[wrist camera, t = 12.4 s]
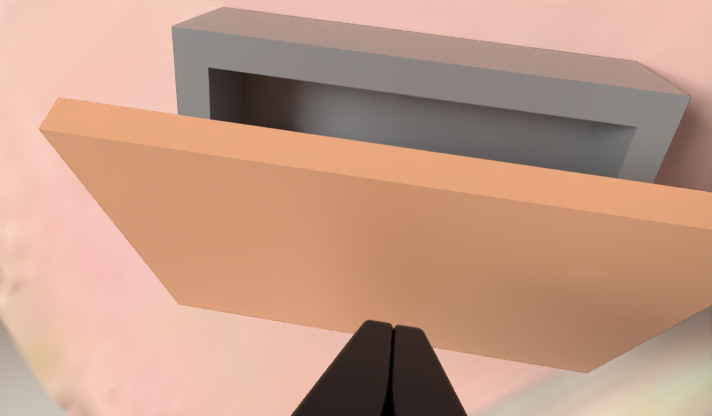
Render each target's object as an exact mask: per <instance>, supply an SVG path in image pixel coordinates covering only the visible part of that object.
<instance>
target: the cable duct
mask: <svg viewBox="0 0 712 416" xmlns="http://www.w3.org/2000/svg"><path fill="white" fill-rule="evenodd" d="M172 38H173V52H174V65H175V79H176V93H177V107H178V115H183V116H190V117H197V118H204V119H210V120H217V121H224V122H231V123H238V124H245V125H252V126H259V127H266V128H272V129H279V130H286V131H293V132H300V133H307V134H314V135H321V136H327V137H334V138H341V139H348V140H355V141H362V142H369V143H376V144H383V145H389V146H396V147H403V148H410V149H417V150H424V151H431V152H438V153H445V154H451V155H458V156H465V157H472V158H479V159H486V160H493V161H500V162H506V163H513V164H520V165H527V166H534V167H541V168H548V169H555V170H562V171H568V172H575V173H582V174H589V175H596V176H603V177H610V178H617V179H624V180H630V181H637V182H644V183H651V184H653V182H654V180H655V178H656V176H657V173H658V171H659V169H660V166H661V164H662V162H663V160H664V157H665V155H666V153H667V150H668V148H669V146H670V144H671V141H672V139H673V137H674V135H675V132H676V130H677V128H678V125H679V123H680V121H681V119H682V116H683V114H684V112H685V109H686V107H687V105H688V103H689V100H690V98H691V96H690V95H689V94H687V93H686V92H684V91H683V90H681V89H679V88H678V87H676V86H675V85H673V84H672V83H670V82H668V81H667V80H665V79H664V78H662V77H661V76H659V75H657V74H656V73H654V72H653V71H651V70H650V69H648V68H646V67H645V66H643V65H642V64H640V63H639V62H637V61H631V60H623V59H615V58H608V57H600V56H593V55H585V54H577V53H570V52H562V51H554V50H547V49H539V48H532V47H524V46H516V45H509V44H501V43H493V42H486V41H478V40H471V39H463V38H455V37H448V36H440V35H432V34H425V33H417V32H410V31H402V30H394V29H387V28H379V27H371V26H364V25H356V24H349V23H341V22H333V21H326V20H318V19H310V18H303V17H295V16H288V15H280V14H272V13H265V12H257V11H249V10H242V9H234V8H227V7H222V8H219V9H216V10H214V11H211V12H208V13H206V14H203V15H200V16H198V17H195V18H192V19H190V20H187V21H184V22H182V23H179V24H176V25H174V26H172Z"/></svg>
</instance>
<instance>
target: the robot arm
mask: <svg viewBox="0 0 712 416" xmlns="http://www.w3.org/2000/svg"><path fill="white" fill-rule="evenodd" d="M291 416H467V414H466V412H465V410H464V408H463V406H462V404H461V402H460V400H459V398H458V396H457V395H456V393H455V391H454V389H453V387H452V385H451V383H450V381H449V379H448V377H447V375H446V373H445V371H444V369H443V367H442V365H441V364H440V362H439V360H438V358H437V356H436V354H435V352H434V350H433V348H432V346H431V344H430V342H429V340H428V338H427V336H426V334H425V333H424V331H423V330H422V329H421V328H418V327H412V326H406V325H400V324H399V325H396V326H395V327H394V329H393V326H392V324H391V323H388V322H382V321H376V320H366V321H365V322H363V324H362V325H361V326H360V327H359V329H358V330H357V331H356V332H355V334H354V335H353V336H352V338H351V339H350V340H349V341H348V343H347V344H346V345H345V347H344V348H343V349H342V350H341V352H340V353H339V354H338V356H337V357H336V358H335V359H334V361H333V362H332V363H331V364H330V366H329V367H328V368H327V370H326V371H325V372H324V373H323V375H322V376H321V377H320V379H319V380H318V381H317V382H316V384H315V385H314V386H313V388H312V389H311V390H310V391H309V393H308V394H307V395H306V397H305V398H304V399H303V400H302V402H301V403H300V404H299V405H298V407H297V408H296V409H295V411H294V412H293V413H292V414H291Z"/></svg>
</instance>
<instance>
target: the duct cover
mask: <svg viewBox="0 0 712 416" xmlns="http://www.w3.org/2000/svg"><path fill="white" fill-rule="evenodd" d="M39 130H40V131H41V133H42V134H43V135H44V136H45V138H46V139H47V140H48V141H49V143H50V144H51V145H52V146H53V148H54V149H55V150H56V151H57V153H58V154H59V155H60V156H61V158H62V159H63V160H64V161H65V163H66V164H67V165H68V166H69V168H70V169H71V170H72V171H73V173H74V174H75V175H76V176H77V178H78V179H79V180H80V181H81V183H82V184H83V185H84V186H85V188H86V189H87V190H88V191H89V193H90V194H91V195H92V196H93V198H94V199H95V200H96V201H97V203H98V204H99V205H100V206H101V208H102V209H103V210H104V211H105V213H106V214H107V215H108V216H109V218H110V219H111V220H112V221H113V223H114V224H115V225H116V226H117V228H118V229H119V230H120V231H121V233H122V234H123V235H124V236H125V238H126V239H127V240H128V241H129V243H130V244H131V245H132V246H133V248H134V249H135V250H136V251H137V253H138V254H139V255H140V256H141V258H142V259H143V260H144V261H145V263H146V264H147V265H148V266H149V268H150V269H151V270H152V271H153V273H154V274H155V275H156V276H157V278H158V279H159V280H160V281H161V283H162V284H163V285H164V286H165V288H166V289H167V290H168V291H169V293H170V294H171V295H172V296H173V298H174V299H175V300H176V301H177V303H178V304H179V305H185V306H191V307H197V308H203V309H208V310H214V311H220V312H226V313H232V314H238V315H244V316H250V317H256V318H262V319H268V320H274V321H280V322H285V323H291V324H297V325H303V326H309V327H315V328H321V329H327V330H333V331H339V332H345V333H351V334H355V332H356V331H357V330H358V329H359V327H360V326H361V325H362V324H363V322H365V321H366V320H376V321H382V322H388V323H391V324H392V326H393V329H394V327H395V326H396V325H399V324H400V325H406V326H412V327H418V328H421V329H422V330H423V331H424V333H425V334H426V336H427V338H428V340H429V342H430V344H431V346H432V347H434V348H439V349H445V350H451V351H457V352H463V353H469V354H475V355H481V356H487V357H493V358H499V359H505V360H511V361H516V362H522V363H528V364H534V365H540V366H546V367H552V368H558V369H564V370H570V371H576V372H582V373H589V372H590V371H592V370H594V369H596V368H598V367H600V366H601V365H603V364H605V363H607V362H609V361H611V360H612V359H614V358H616V357H618V356H620V355H621V354H623V353H625V352H627V351H629V350H631V349H632V348H634V347H636V346H638V345H640V344H642V343H643V342H645V341H647V340H649V339H651V338H653V337H654V336H656V335H658V334H660V333H662V332H664V331H665V330H667V329H669V328H671V327H673V326H675V325H676V324H678V323H680V322H682V321H684V320H686V319H687V318H689V317H691V316H693V315H695V314H697V313H698V312H700V311H702V310H704V309H706V308H708V307H709V306H711V305H712V192H706V191H699V190H692V189H686V188H679V187H672V186H665V185H658V184H651V183H644V182H637V181H630V180H624V179H617V178H610V177H603V176H596V175H589V174H582V173H575V172H568V171H562V170H555V169H548V168H541V167H534V166H527V165H520V164H513V163H506V162H500V161H493V160H486V159H479V158H472V157H465V156H458V155H451V154H445V153H438V152H431V151H424V150H417V149H410V148H403V147H396V146H389V145H383V144H376V143H369V142H362V141H355V140H348V139H341V138H334V137H327V136H321V135H314V134H307V133H300V132H293V131H286V130H279V129H272V128H266V127H259V126H252V125H245V124H238V123H231V122H224V121H217V120H210V119H204V118H197V117H190V116H183V115H176V114H169V113H162V112H155V111H148V110H142V109H135V108H128V107H121V106H114V105H107V104H100V103H93V102H87V101H80V100H73V99H66V98H59V97H58V99H57V100H56V102H55V103H54V105H53V107H52V108H51V110H50V112H49V113H48V115H47V116H46V118H45V120H44V121H43V123H42V124H41V126H40V128H39Z"/></svg>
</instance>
